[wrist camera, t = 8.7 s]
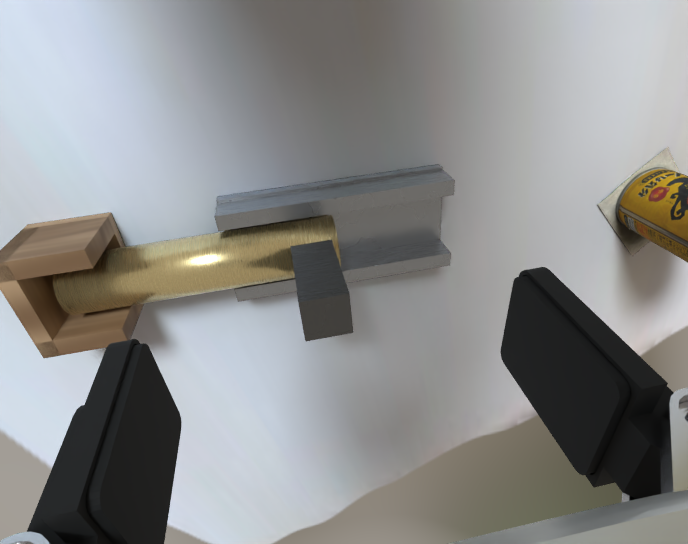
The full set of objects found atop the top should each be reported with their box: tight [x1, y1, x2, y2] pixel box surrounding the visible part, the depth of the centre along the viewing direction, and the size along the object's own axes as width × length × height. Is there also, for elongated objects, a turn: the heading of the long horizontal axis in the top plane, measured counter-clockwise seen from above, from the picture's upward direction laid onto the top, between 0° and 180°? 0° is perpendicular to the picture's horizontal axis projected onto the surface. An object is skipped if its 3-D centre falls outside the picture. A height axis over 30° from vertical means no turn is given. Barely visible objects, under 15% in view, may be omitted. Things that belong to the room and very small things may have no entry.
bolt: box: [52, 215, 353, 341], centre depth 30 cm, size 4×20×11 cm, turn 95°
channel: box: [215, 164, 455, 302], centre depth 35 cm, size 8×18×3 cm, turn 95°
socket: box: [0, 212, 144, 358], centre depth 32 cm, size 8×6×6 cm
